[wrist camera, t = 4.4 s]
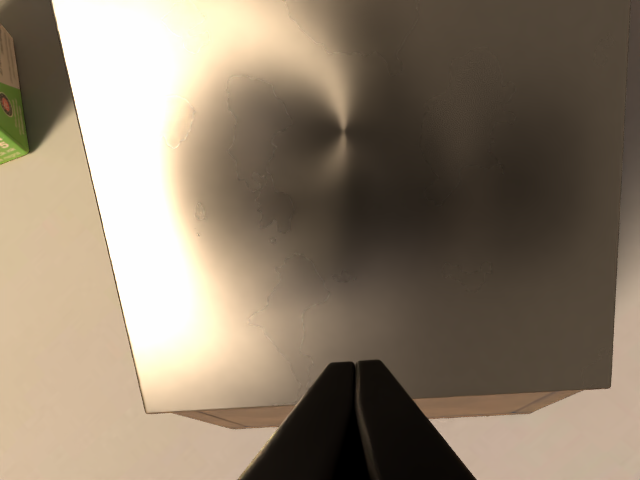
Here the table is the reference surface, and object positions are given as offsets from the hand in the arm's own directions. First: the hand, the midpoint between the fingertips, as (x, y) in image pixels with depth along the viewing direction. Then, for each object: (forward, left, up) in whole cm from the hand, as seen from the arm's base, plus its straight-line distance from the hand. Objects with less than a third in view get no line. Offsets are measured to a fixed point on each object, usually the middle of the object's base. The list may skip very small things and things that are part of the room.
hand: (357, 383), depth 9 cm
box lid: (+5, -3, -1) cm, 6 cm away
